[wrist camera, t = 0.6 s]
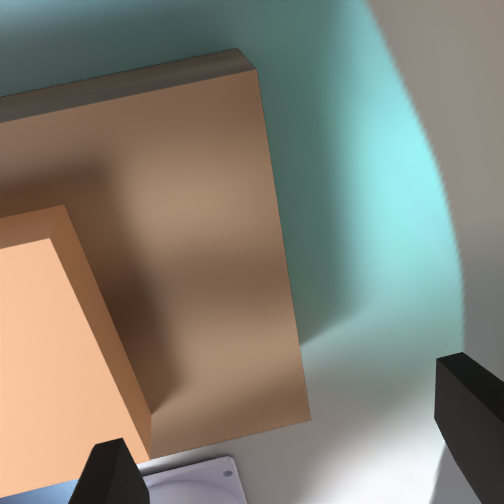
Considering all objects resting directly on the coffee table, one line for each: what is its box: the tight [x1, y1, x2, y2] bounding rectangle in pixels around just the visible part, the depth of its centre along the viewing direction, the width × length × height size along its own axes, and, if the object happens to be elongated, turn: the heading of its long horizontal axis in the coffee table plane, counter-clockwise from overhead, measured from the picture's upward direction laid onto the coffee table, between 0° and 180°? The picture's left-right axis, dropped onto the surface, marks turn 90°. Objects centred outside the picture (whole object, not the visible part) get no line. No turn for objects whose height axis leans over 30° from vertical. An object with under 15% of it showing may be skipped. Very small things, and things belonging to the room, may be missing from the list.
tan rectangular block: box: [0, 205, 152, 498], centre depth 15 cm, size 9×6×2 cm, turn 9°
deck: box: [0, 48, 311, 460], centre depth 17 cm, size 14×16×4 cm
